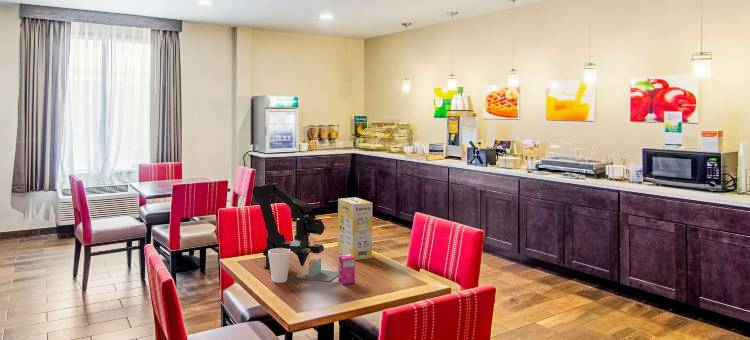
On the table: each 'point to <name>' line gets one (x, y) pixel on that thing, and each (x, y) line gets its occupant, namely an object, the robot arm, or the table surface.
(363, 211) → the pasta box
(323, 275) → the mat
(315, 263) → the tile
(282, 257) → the foam cup
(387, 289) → the table surface
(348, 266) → the supplement box
